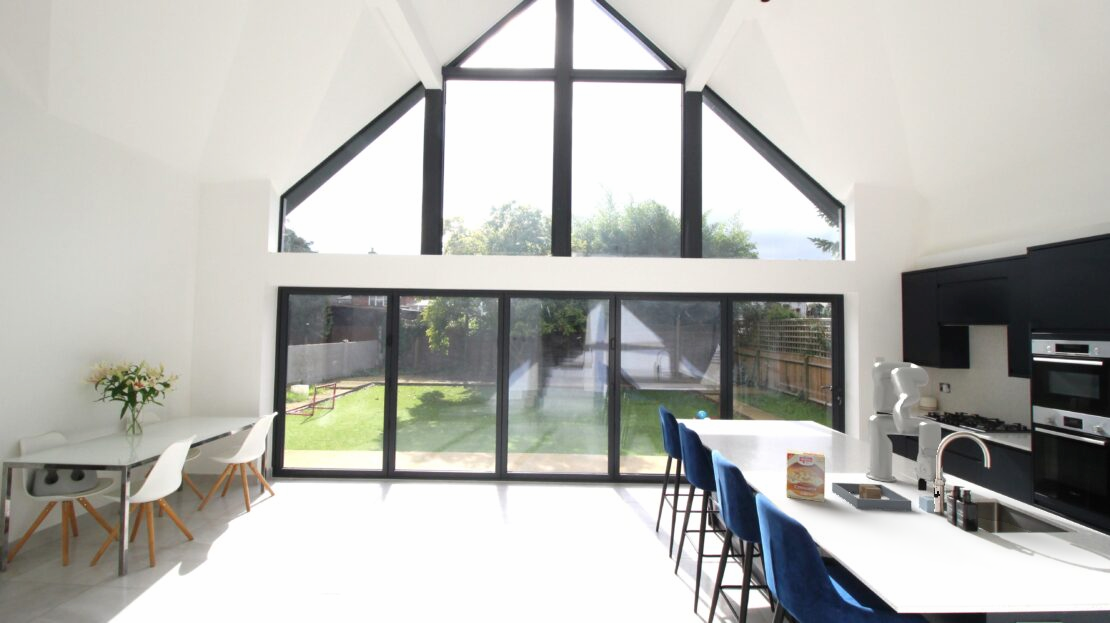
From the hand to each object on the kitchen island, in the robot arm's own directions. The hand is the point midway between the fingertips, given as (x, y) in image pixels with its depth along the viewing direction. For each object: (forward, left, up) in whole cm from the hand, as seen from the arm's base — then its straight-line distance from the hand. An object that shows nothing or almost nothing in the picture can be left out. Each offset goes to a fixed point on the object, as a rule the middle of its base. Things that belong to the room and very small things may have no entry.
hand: (930, 493), depth 212 cm
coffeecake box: (-11, -46, -7) cm, 48 cm away
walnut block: (-10, -19, -7) cm, 22 cm away
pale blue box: (-1, 0, -7) cm, 7 cm away
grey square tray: (-10, -19, -7) cm, 22 cm away
